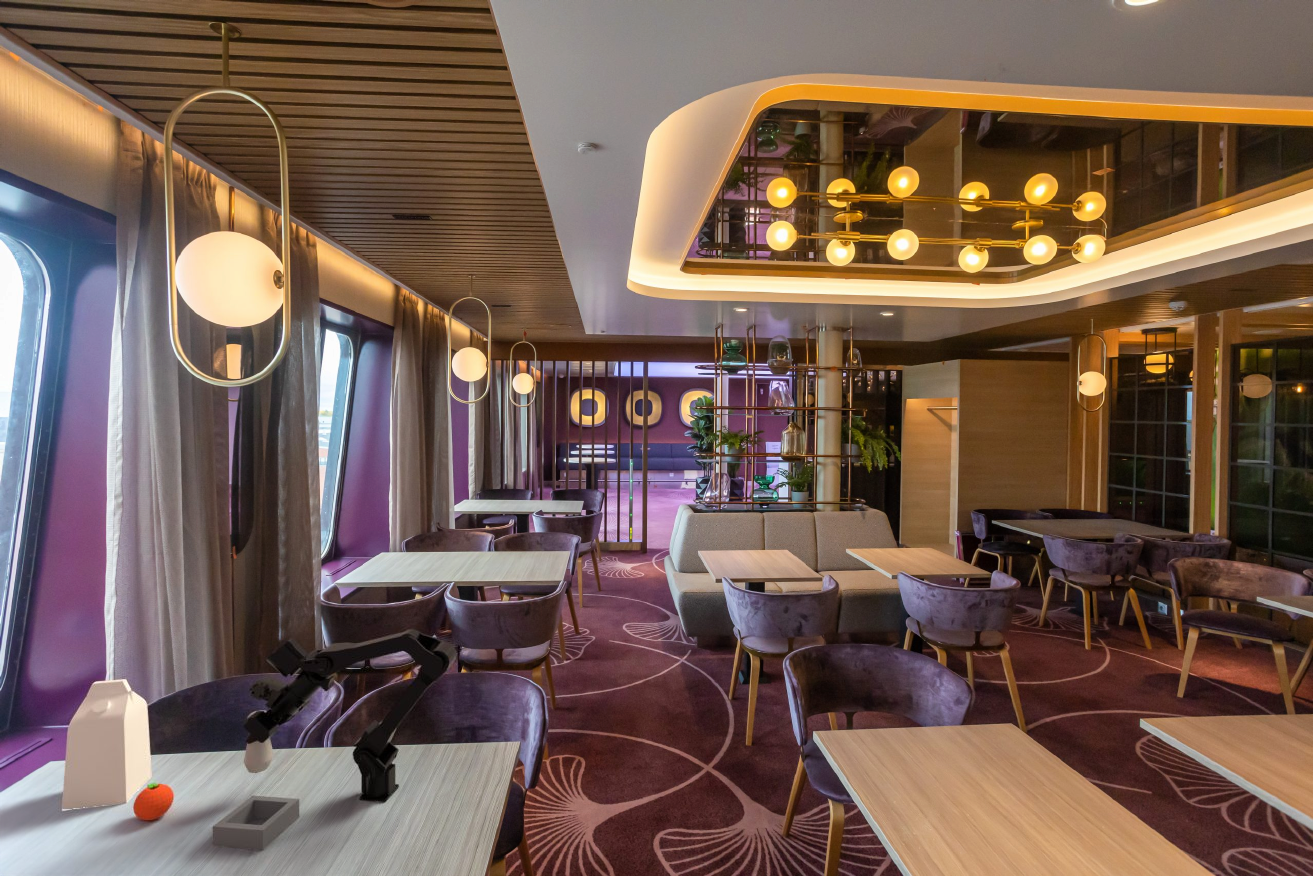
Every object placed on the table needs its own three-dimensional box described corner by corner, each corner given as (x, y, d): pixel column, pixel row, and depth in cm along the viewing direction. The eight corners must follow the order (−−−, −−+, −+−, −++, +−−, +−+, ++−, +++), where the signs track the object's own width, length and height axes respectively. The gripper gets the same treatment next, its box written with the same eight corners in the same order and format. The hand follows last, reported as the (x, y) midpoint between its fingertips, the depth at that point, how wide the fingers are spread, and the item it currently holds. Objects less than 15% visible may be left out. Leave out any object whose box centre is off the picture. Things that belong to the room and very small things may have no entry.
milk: (151, 776, 154) (152, 670, 154) (126, 803, 143) (126, 688, 142) (92, 783, 150) (92, 674, 150) (61, 811, 139) (61, 694, 139)
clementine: (127, 817, 137) (127, 785, 137) (166, 802, 143) (166, 771, 143) (138, 832, 133) (138, 798, 133) (178, 816, 138) (178, 783, 138)
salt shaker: (278, 761, 149) (277, 706, 149) (266, 774, 144) (265, 717, 144) (252, 762, 149) (251, 707, 149) (238, 776, 143) (238, 719, 143)
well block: (299, 817, 138) (299, 799, 138) (263, 850, 127) (263, 830, 127) (252, 813, 139) (252, 795, 139) (212, 846, 128) (212, 826, 128)
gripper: (296, 651, 155) (251, 697, 155) (251, 681, 137) (199, 733, 136) (329, 682, 156) (284, 728, 156) (288, 717, 137) (237, 769, 137)
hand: (252, 738), depth 146 cm, fingers closed on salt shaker, 3 cm apart
